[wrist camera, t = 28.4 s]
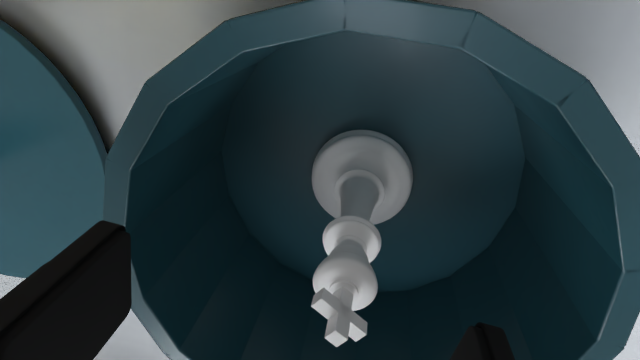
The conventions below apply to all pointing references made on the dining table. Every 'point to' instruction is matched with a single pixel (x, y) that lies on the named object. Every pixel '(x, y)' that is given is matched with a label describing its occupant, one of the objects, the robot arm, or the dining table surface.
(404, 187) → the chess piece
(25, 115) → the tin lid
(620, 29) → the dining table surface
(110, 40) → the dining table surface
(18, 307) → the robot arm
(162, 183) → the tin
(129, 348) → the dining table surface
